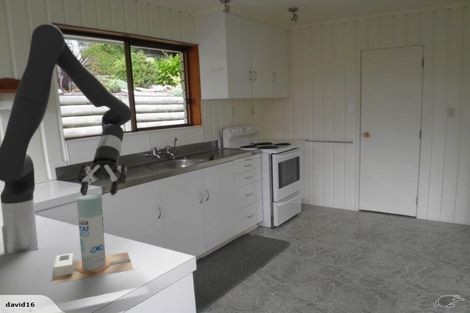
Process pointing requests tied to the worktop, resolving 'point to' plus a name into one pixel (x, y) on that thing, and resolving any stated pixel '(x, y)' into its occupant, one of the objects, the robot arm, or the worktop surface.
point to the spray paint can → (91, 231)
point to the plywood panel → (111, 266)
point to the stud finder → (64, 264)
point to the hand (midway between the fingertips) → (97, 194)
